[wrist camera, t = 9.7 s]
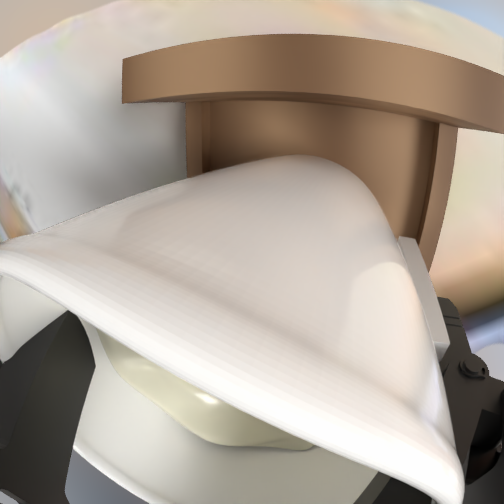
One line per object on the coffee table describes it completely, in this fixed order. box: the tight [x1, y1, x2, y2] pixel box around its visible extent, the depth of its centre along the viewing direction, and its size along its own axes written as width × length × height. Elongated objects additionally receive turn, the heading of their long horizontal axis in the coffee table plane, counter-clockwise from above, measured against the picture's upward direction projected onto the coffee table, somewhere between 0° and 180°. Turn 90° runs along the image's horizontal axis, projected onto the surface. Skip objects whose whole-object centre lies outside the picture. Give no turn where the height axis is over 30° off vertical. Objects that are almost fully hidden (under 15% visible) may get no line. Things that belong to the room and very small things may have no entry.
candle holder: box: [0, 154, 465, 504], centre depth 9 cm, size 10×10×12 cm
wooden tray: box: [122, 34, 504, 273], centre depth 14 cm, size 14×17×7 cm
